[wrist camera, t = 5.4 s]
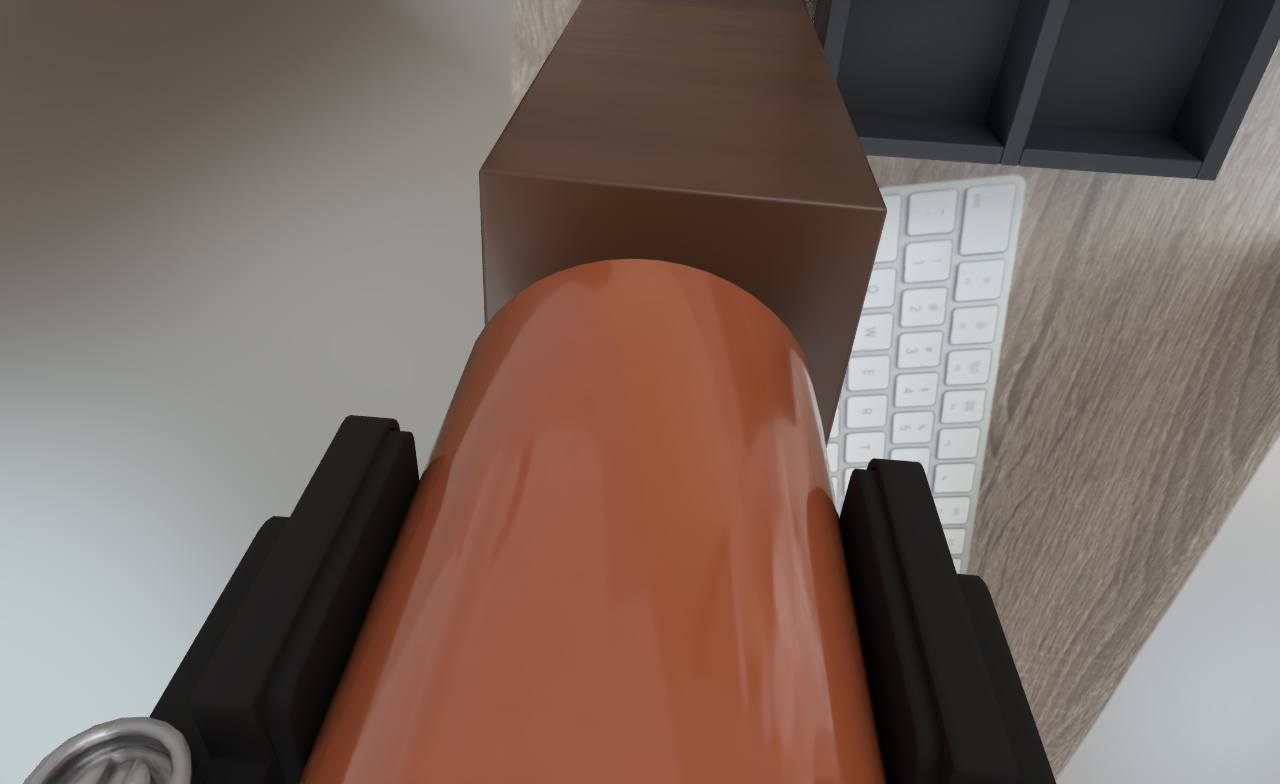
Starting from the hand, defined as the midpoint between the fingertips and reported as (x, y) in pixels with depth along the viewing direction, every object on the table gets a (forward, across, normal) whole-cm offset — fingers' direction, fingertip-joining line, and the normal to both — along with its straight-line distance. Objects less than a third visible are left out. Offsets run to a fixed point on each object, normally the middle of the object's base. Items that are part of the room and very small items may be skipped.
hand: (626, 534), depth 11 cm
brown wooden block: (+28, -1, 0) cm, 28 cm away
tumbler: (+2, 0, 0) cm, 2 cm away
